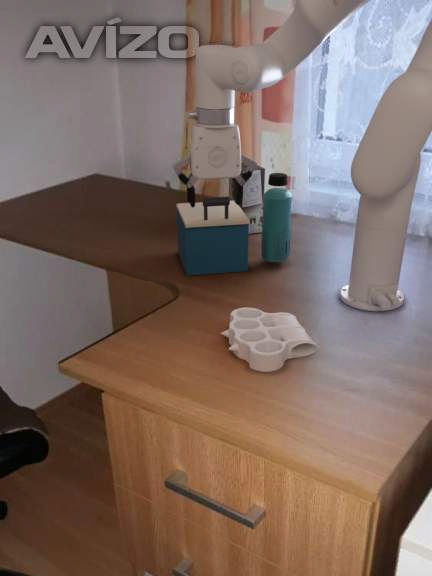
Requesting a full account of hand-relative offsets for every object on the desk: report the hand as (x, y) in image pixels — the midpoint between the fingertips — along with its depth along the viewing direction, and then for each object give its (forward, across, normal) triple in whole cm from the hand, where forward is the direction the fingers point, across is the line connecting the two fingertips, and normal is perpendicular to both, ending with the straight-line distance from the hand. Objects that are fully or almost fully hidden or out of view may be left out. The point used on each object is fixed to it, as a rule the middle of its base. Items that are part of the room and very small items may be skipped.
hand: (214, 204), depth 128 cm
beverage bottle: (+15, +14, +2) cm, 21 cm away
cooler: (+15, 0, +6) cm, 16 cm away
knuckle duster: (+15, +2, -36) cm, 39 cm away
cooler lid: (+4, 0, +5) cm, 7 cm away
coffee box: (+15, +13, +28) cm, 34 cm away
